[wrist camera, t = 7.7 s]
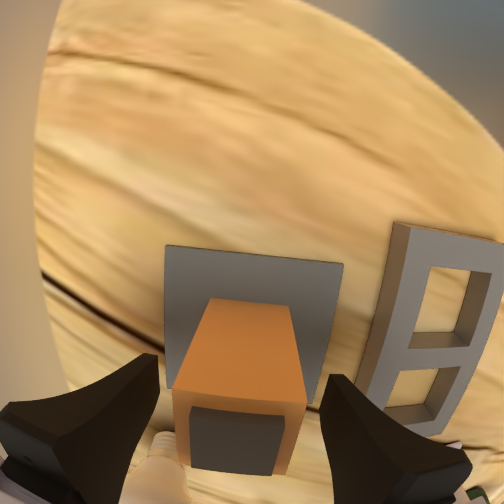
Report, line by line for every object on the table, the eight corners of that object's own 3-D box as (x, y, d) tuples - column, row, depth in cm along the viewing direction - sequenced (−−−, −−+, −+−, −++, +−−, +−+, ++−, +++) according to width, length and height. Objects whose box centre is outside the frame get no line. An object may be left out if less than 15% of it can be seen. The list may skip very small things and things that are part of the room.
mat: (311, 400, 17) (311, 403, 17) (168, 385, 17) (167, 388, 17) (342, 263, 15) (344, 264, 15) (166, 244, 15) (165, 246, 15)
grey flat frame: (431, 417, 18) (441, 433, 16) (338, 426, 18) (343, 446, 16) (494, 240, 14) (513, 247, 12) (393, 221, 14) (410, 227, 12)
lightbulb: (211, 410, 17) (179, 560, 7) (221, 464, 19) (204, 584, 8) (123, 401, 18) (56, 521, 7) (145, 456, 19) (105, 561, 8)
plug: (278, 369, 16) (285, 484, 8) (207, 361, 16) (175, 472, 8) (288, 305, 15) (309, 413, 8) (210, 297, 15) (167, 398, 8)
